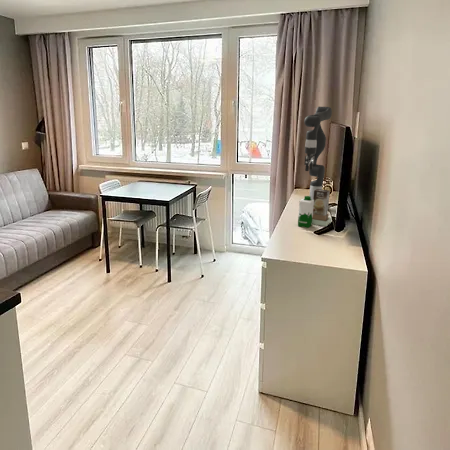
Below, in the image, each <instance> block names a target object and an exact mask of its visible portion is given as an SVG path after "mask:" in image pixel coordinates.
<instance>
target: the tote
mask: <svg viewBox="0 0 450 450" xmlns="http://www.w3.org/2000/svg"><path fill="white" fill-rule="evenodd" d="M332 219H333V218H332V217H329V216H328V220H327V221H320V220H314V219H312V225H316V226H321V227H327V226H328V224H329V223H330V224H331V223H332ZM330 224H329V225H330Z"/></svg>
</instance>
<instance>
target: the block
mask: <svg viewBox="0 0 450 450" xmlns="http://www.w3.org/2000/svg"><path fill="white" fill-rule="evenodd" d="M329 216H330V213H327V214H326V215H325V216H323V215H317V214H313V218H312V219H314V220H320V221H327V220H328V217H329Z"/></svg>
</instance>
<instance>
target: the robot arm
mask: <svg viewBox="0 0 450 450" xmlns="http://www.w3.org/2000/svg"><path fill="white" fill-rule="evenodd" d="M332 111H333V110H332V107H330V106H317V107H316V110H315V113H314V114H308V115H307V116H306V117H305V118H304V125H305V126H306V127H308V128H313V129H312V130H307V131H306V133H305V134H306V136H305V145H304V154H306V155H305V156H304V166H305V168H304V169H305V172H308V173H309V176H310V177H314V178H315V177H316V179H315V180H312V181H310V183H309V195H308V196H311V199H312V200H313V197H314V190H316V189H322V190H323V184H324V178H325V172H326V167H325V166H324V165H323V164H318V163H317V162H318V159H319V157H320V156H321V154H322V152H323V151H325V149H326V142H327V137H326V134H325V132H324V131H323V128H322V126H321V125H322V124H321V123H322V122H323V121H326V120H330V119H331V118H332V114H333V112H332Z"/></svg>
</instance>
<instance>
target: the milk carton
mask: <svg viewBox="0 0 450 450" xmlns="http://www.w3.org/2000/svg"><path fill="white" fill-rule="evenodd" d="M313 206H314V200H312V199H311V196H309V195H304V198H302V199H300V200H299V202H298V215H297V227H299V228H306V229H309V228H311V227H312V225H313V224H312V218H313Z"/></svg>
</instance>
